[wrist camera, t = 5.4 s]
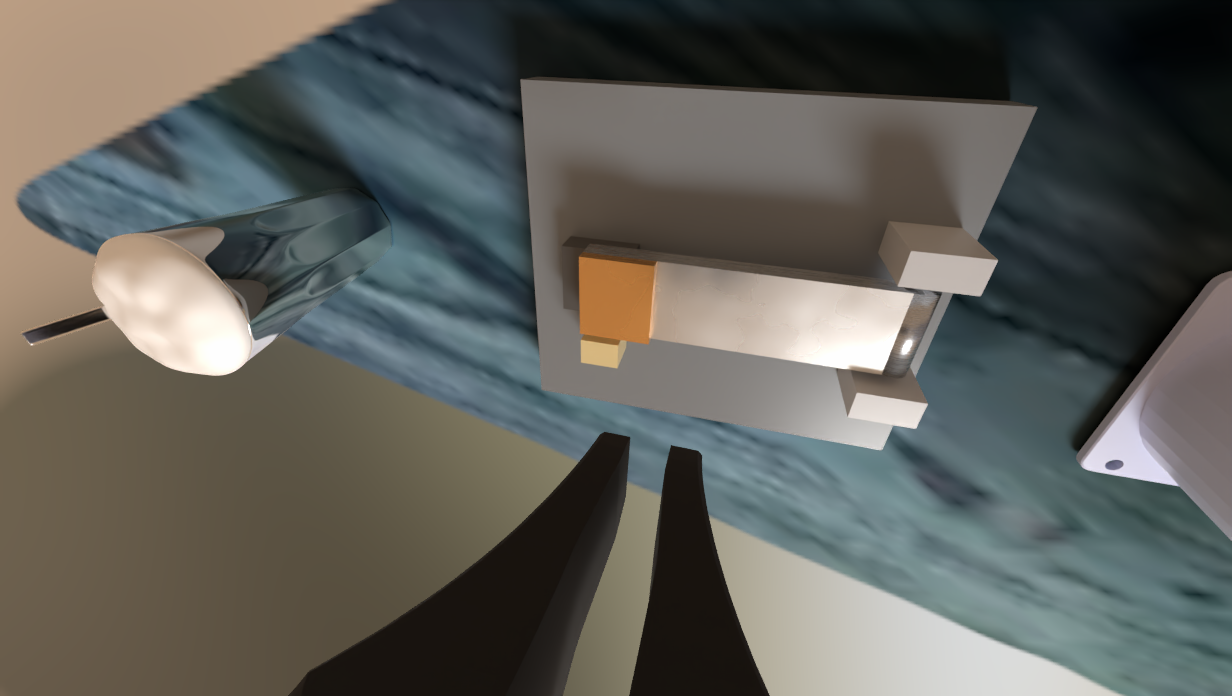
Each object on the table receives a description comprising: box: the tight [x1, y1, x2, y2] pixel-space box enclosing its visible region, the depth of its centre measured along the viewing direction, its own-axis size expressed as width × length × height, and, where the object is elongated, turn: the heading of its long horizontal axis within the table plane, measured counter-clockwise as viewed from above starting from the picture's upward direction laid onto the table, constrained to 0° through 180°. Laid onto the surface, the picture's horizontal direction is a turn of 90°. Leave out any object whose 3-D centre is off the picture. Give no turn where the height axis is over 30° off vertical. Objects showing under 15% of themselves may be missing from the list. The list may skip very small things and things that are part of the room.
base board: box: [520, 77, 1038, 450], centre depth 16 cm, size 14×12×4 cm
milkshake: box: [20, 188, 392, 375], centre depth 17 cm, size 4×5×10 cm
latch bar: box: [579, 244, 942, 379], centre depth 15 cm, size 10×3×1 cm, turn 90°
